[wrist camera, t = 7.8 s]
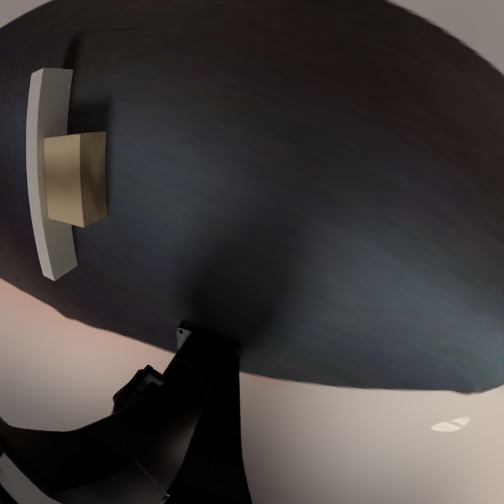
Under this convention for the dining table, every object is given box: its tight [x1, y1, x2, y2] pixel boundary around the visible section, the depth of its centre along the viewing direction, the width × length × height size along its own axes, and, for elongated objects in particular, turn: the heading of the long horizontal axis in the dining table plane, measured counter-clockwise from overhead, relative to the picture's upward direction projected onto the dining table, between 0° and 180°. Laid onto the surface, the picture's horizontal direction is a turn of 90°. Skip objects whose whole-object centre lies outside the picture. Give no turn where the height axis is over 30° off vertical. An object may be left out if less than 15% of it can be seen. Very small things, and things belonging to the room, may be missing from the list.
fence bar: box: [26, 68, 78, 281], centre depth 21 cm, size 22×2×4 cm, turn 173°
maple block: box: [44, 131, 107, 227], centre depth 20 cm, size 8×6×4 cm
